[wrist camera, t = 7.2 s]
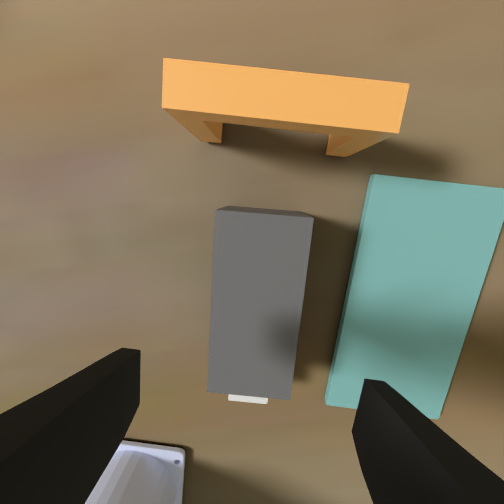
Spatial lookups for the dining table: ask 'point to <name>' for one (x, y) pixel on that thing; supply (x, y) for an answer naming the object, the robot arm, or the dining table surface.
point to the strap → (282, 103)
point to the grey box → (257, 301)
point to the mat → (413, 287)
